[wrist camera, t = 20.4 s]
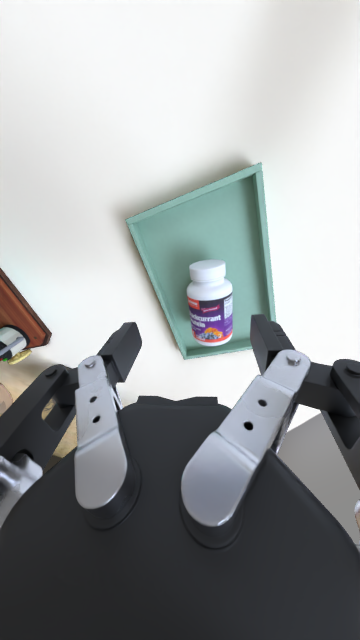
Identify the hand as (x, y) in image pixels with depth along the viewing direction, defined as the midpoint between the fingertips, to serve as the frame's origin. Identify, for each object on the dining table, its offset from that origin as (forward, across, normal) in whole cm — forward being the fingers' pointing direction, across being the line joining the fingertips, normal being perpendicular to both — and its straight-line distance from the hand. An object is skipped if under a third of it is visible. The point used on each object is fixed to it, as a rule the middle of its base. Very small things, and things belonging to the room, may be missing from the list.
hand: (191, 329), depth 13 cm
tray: (+13, -2, +2) cm, 13 cm away
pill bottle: (+10, -1, +8) cm, 13 cm away
